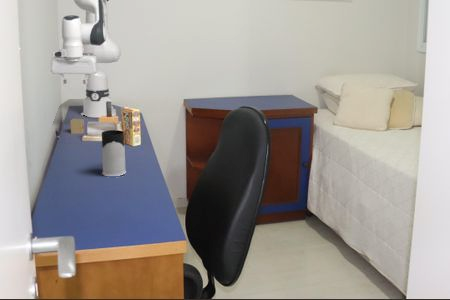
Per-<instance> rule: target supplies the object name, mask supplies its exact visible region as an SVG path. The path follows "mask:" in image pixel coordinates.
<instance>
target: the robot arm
mask: <svg viewBox="0 0 450 300" xmlns="http://www.w3.org/2000/svg"><path fill="white" fill-rule="evenodd" d="M108 1H110V0H73V2H74V4H75V5H76V6H77V7H78V8H79V9H81V10H82V11H85V23H84V22H82V20H81V17H80V16H78V15H72V14H71V15H65V16H64V17H62V21H61V38H62V49H58V50H56V51H54V52H52V58H51V60H50V72H51V73H52V74H56V75H57V74H59V75H58V76H59V78H60V79H61V81H62V82H61V83H62V84H63V85H66V84H67V83H68V81H67V79H65V78H64V77H65V76H64V75H65V74H66V75H84V76H85V77H84V78H85V79H83V80H82V81H83V82H82V83H83V85H86V89H85V96H86V97H85V98H84V99H83V111H82V112H81V113H80V116H83V115H85V116H84V117H86V116H87V117H88V118H93V119H94V118H98V119H99V118H100V117H101V116H107V113H106V102H107V101H111V107H112V116H117V110H116V108H114V106H112V105H113V104H112V99H111V97H110V90H109V87H108V86H109V84H108V83H109V82H108V81H109V80H108V79H109V78H108V75H107V73H106V72H105V71H104V70H102V69H100V68H98V65H97V64H111V63H115V62H118V61H119V60H120V58H121V54H122V53H121V48H120V46H119V45H118V44H117V43H116V42H115V41H114V40H113V39H112V38H111V36H110V34H109V31H108V30H109V29H108V5H107V2H108Z"/></svg>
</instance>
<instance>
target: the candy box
mask: <svg viewBox="0 0 450 300" xmlns="http://www.w3.org/2000/svg"><path fill="white" fill-rule="evenodd" d="M120 119H121V120H120V122H121V125H122V131H123V132H124V144H126V145H129V146H132V147H136V146H141V145H142V144H141V143H142V142H141V141H142V139H141V138H142V137H141V112H140V109H138V108H134V107H130V106H127V107H120Z"/></svg>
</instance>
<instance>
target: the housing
mask: <svg viewBox="0 0 450 300" xmlns="http://www.w3.org/2000/svg"><path fill="white" fill-rule="evenodd" d="M84 132H85V119H84V118H72V119H71V120H70V134H73V135H74V134H78V135H79V134H80V135H81V134H84Z"/></svg>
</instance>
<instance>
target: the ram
mask: <svg viewBox="0 0 450 300" xmlns="http://www.w3.org/2000/svg"><path fill="white" fill-rule="evenodd" d="M111 102H112V100H111V101H107V102H106V113H107V116H101V117H99V118H98V122H116V129H117V124H118V123H119V122H120V120H119V116H118V115H116V116H112V107H111Z"/></svg>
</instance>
